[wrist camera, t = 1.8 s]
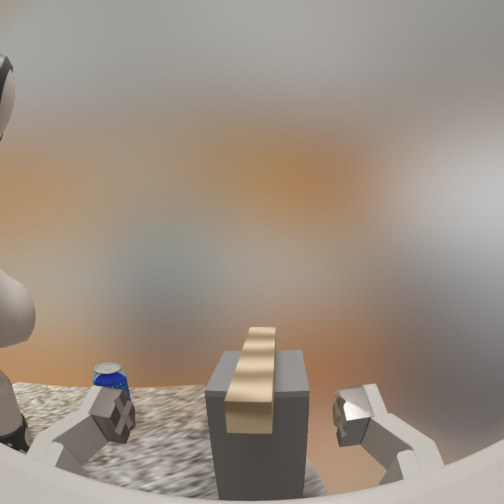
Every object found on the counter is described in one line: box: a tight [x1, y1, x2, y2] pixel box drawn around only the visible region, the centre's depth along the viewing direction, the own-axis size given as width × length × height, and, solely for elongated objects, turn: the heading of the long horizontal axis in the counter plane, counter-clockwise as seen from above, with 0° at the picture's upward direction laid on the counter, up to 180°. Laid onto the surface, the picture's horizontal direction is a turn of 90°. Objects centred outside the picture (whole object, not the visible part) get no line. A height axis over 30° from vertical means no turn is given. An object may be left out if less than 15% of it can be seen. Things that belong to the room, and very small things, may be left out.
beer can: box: [92, 363, 135, 429], centre depth 60 cm, size 8×8×16 cm
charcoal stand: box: [205, 350, 310, 501], centre depth 39 cm, size 14×12×26 cm
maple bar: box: [224, 327, 276, 434], centre depth 36 cm, size 24×4×4 cm, turn 175°
